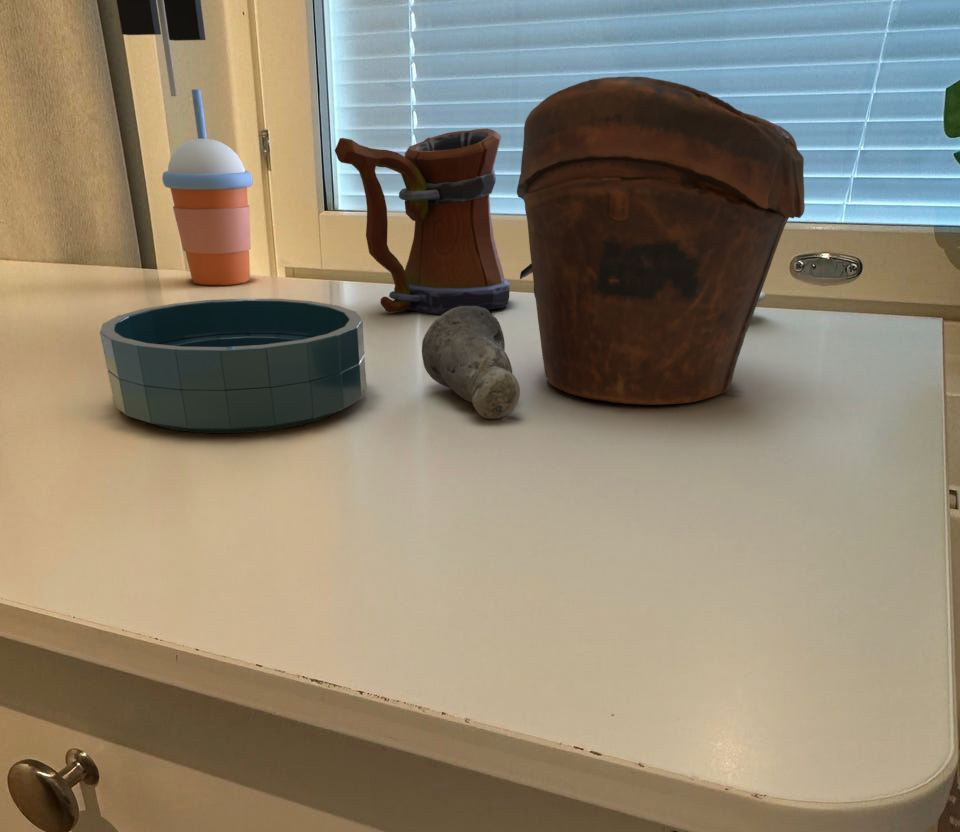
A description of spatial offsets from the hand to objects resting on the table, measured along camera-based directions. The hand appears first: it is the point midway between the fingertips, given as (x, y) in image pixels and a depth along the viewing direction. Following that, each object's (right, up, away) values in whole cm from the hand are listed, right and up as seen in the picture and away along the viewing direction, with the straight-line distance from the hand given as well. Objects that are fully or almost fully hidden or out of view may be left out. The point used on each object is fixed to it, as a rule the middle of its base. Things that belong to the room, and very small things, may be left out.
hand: (165, 36), depth 65 cm
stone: (+23, -29, -6) cm, 37 cm away
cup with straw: (-5, -5, +33) cm, 34 cm away
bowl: (+8, -29, -7) cm, 31 cm away
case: (+34, -26, -2) cm, 43 cm away
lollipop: (0, -3, +2) cm, 4 cm away
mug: (+18, -12, +21) cm, 30 cm away
